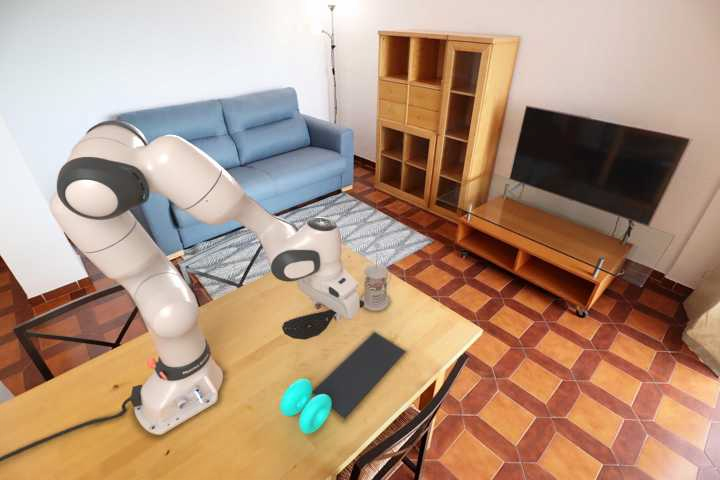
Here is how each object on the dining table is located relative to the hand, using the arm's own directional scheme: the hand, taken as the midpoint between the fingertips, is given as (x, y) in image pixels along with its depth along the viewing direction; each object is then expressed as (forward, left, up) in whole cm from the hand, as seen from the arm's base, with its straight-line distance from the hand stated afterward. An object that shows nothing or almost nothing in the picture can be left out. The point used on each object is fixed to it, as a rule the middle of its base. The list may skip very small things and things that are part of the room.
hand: (328, 313), depth 103 cm
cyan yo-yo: (-18, -9, -18) cm, 27 cm away
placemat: (+2, -11, -17) cm, 21 cm away
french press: (+29, +4, -18) cm, 34 cm away
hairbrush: (-1, 0, -2) cm, 2 cm away
